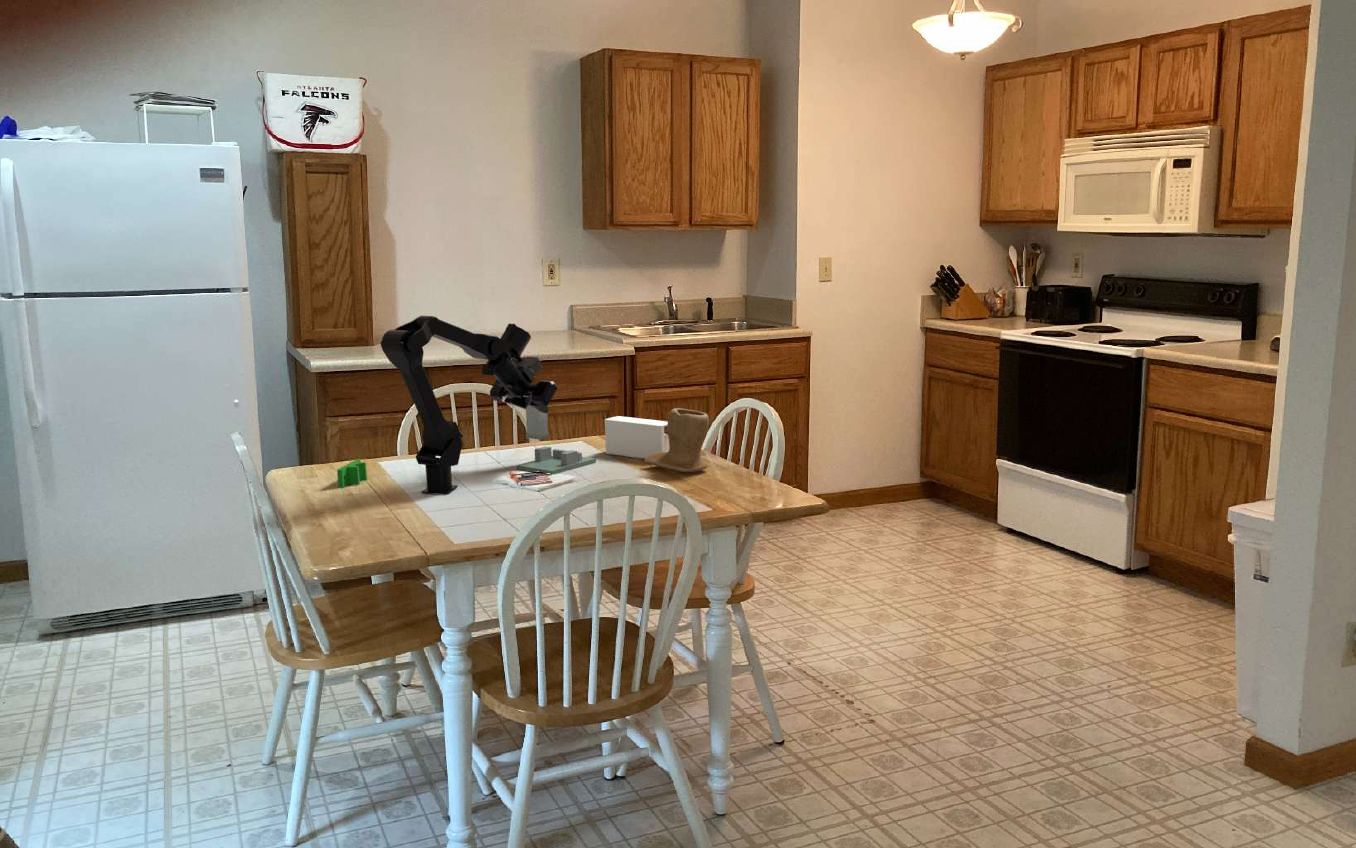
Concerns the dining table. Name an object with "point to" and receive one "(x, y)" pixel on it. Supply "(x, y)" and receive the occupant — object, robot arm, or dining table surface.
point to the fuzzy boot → (683, 441)
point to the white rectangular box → (635, 436)
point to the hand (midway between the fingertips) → (540, 411)
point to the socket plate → (555, 461)
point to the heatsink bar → (535, 422)
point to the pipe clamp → (352, 473)
